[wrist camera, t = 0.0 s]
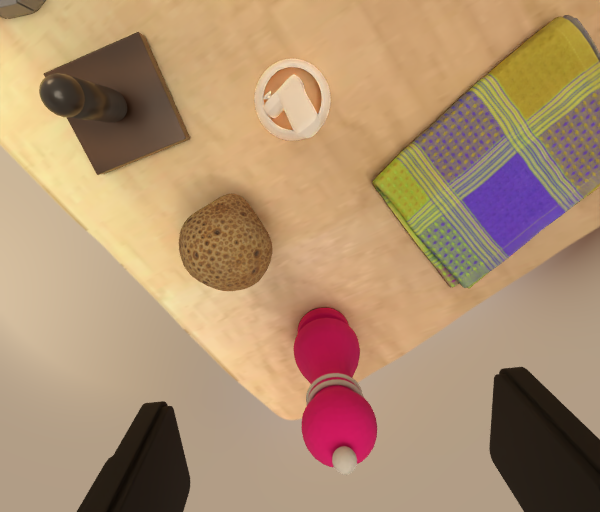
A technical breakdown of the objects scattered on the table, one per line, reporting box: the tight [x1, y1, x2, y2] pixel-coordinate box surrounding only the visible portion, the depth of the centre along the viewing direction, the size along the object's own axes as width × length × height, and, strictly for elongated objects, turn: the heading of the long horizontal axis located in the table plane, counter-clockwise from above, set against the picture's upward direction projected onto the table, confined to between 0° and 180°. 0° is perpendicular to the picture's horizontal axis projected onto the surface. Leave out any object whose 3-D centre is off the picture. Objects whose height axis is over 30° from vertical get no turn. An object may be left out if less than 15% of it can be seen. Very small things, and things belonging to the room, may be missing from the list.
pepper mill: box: [294, 308, 377, 475], centre depth 35 cm, size 7×7×20 cm
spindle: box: [39, 32, 190, 175], centre depth 31 cm, size 10×10×12 cm
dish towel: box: [373, 15, 600, 288], centre depth 38 cm, size 18×24×3 cm
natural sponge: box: [179, 194, 272, 291], centre depth 36 cm, size 9×9×10 cm
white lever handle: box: [254, 58, 331, 141], centre depth 34 cm, size 8×12×7 cm
